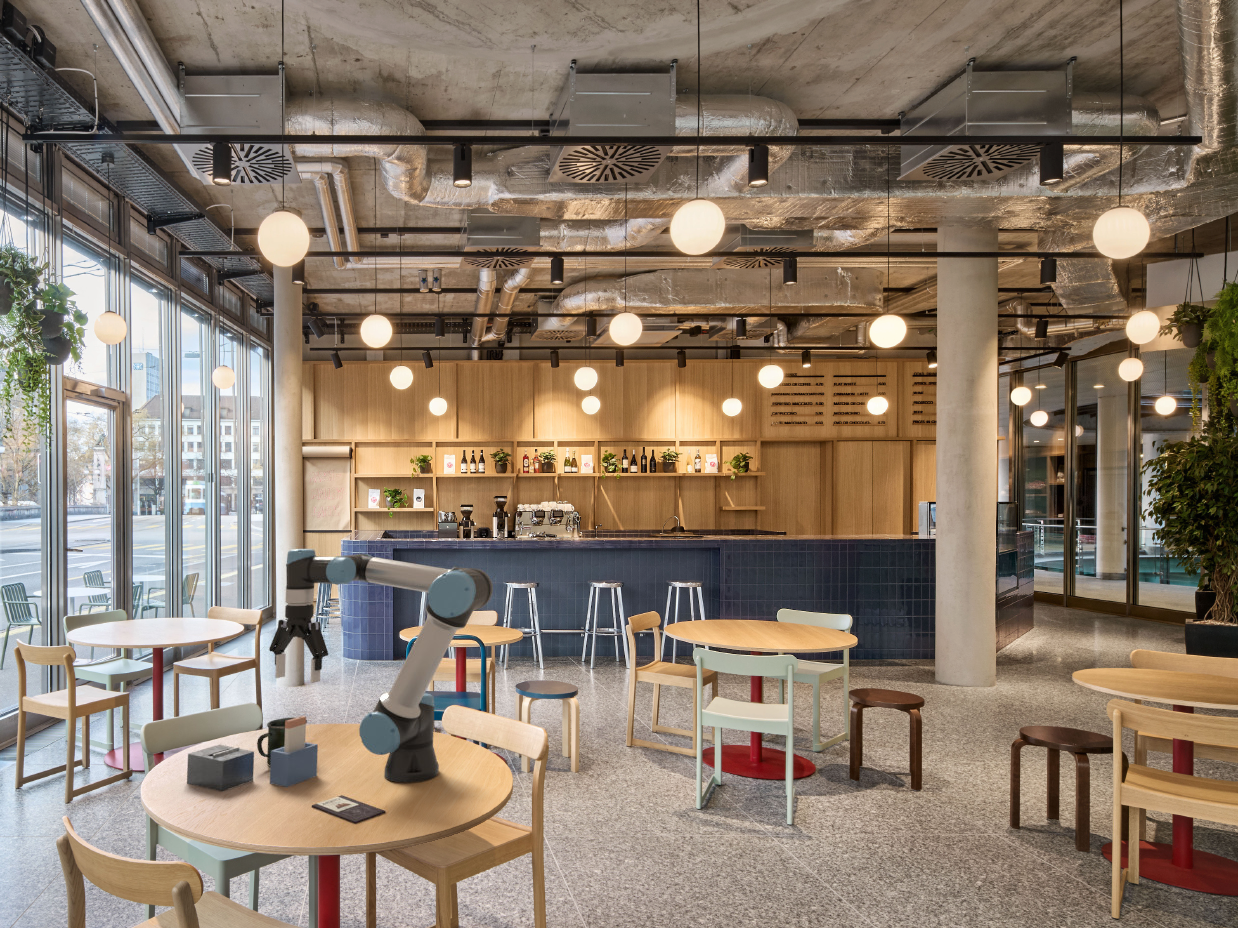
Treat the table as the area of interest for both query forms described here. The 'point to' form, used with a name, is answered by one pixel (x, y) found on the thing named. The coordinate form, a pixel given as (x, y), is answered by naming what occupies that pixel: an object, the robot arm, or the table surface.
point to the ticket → (295, 734)
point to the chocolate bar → (348, 809)
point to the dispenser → (220, 767)
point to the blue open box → (293, 765)
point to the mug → (273, 737)
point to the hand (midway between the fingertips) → (297, 679)
